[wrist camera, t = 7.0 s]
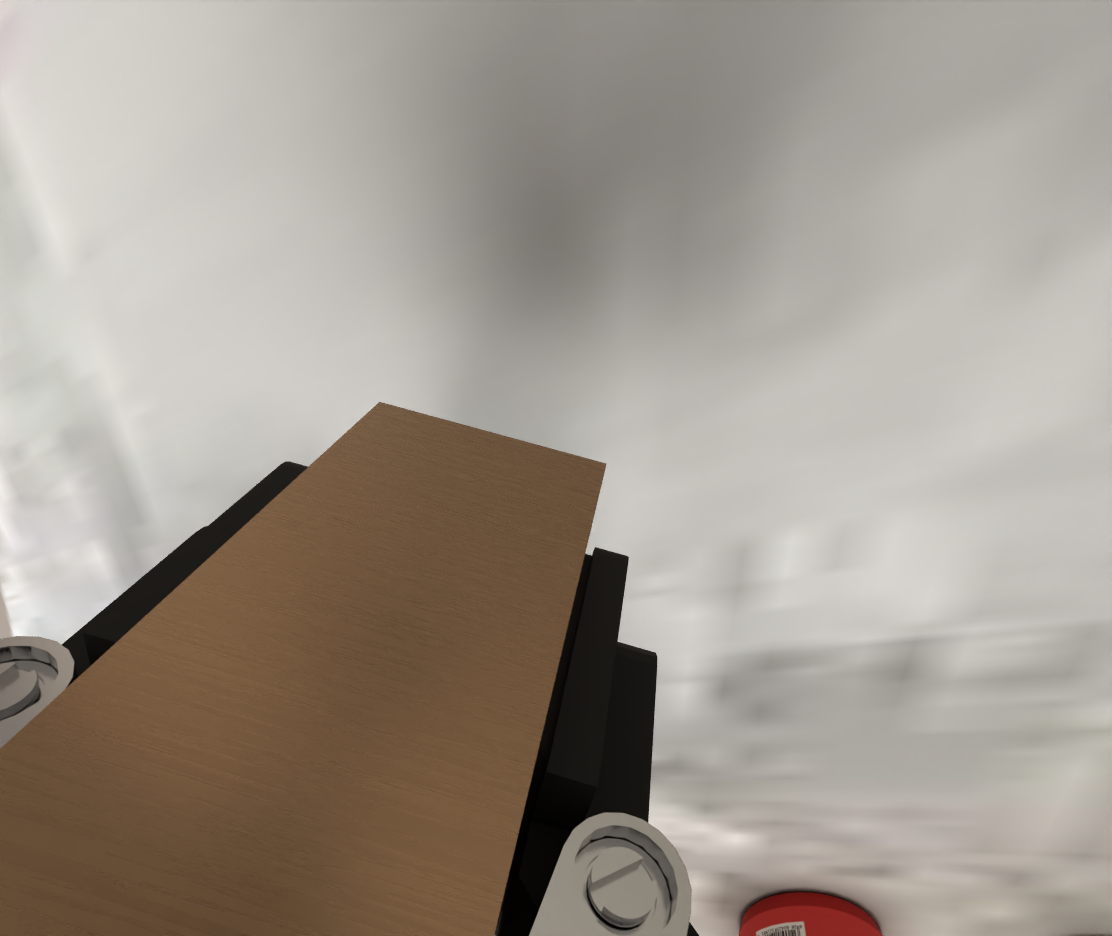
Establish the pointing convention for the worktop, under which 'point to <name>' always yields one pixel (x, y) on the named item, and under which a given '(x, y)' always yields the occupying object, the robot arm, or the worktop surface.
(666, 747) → the worktop surface
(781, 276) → the worktop surface
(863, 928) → the canned food
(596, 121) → the worktop surface
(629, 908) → the robot arm
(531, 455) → the blade tool
